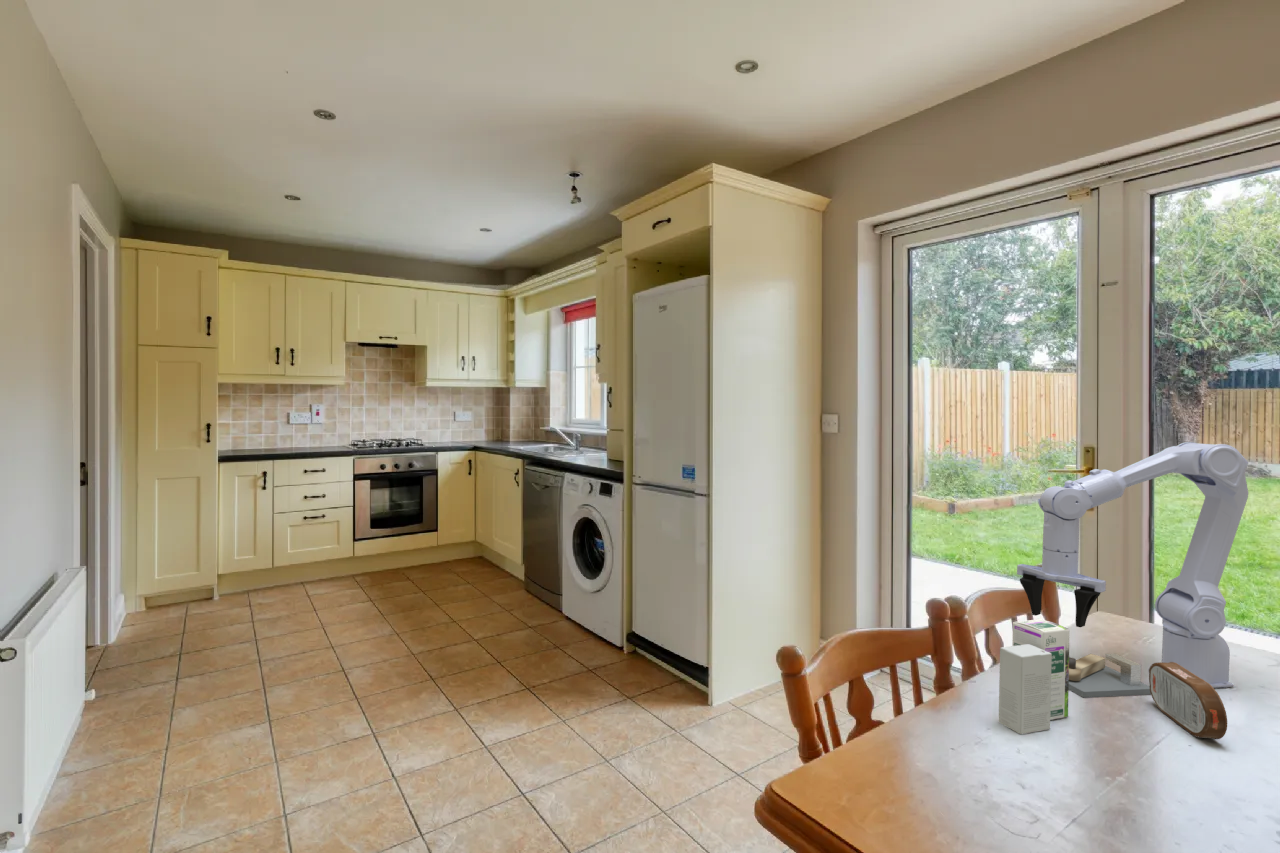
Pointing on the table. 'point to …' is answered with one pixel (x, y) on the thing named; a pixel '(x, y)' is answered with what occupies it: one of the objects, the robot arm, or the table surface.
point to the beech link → (1085, 666)
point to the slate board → (1106, 685)
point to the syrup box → (1057, 644)
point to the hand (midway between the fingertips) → (1057, 620)
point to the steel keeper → (1126, 669)
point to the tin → (1188, 700)
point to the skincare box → (1025, 688)
